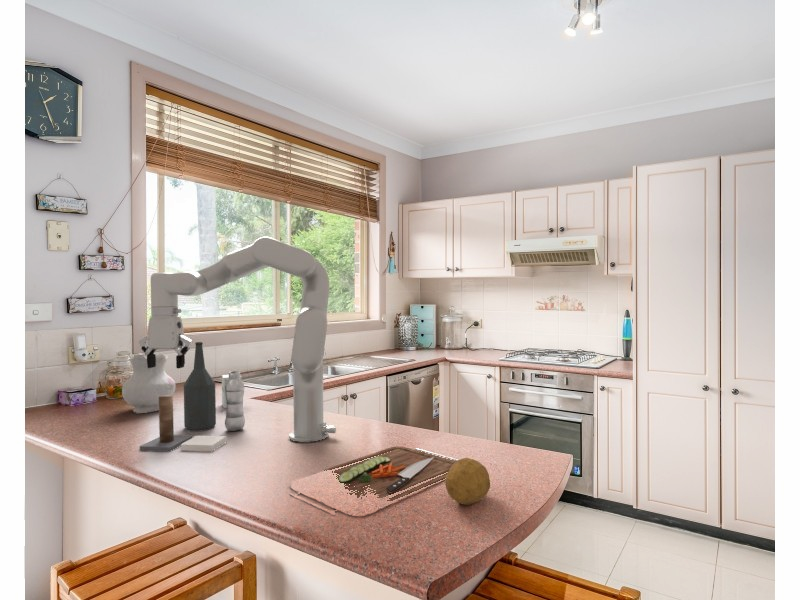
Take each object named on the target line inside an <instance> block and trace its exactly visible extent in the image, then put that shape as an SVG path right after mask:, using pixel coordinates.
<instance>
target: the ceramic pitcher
mask: <svg viewBox="0 0 800 600" xmlns="http://www.w3.org/2000/svg"><path fill="white" fill-rule="evenodd" d="M155 355H156V366H155V367H153V368H148V367H147V355H145V353H144V352H139V353H136V354H133V357H129V361H130V364H131V367H132V370H133V371H132V372H133V373H132V375H130V377H129V378H127V379H126V381H124V382H123V384H122V386H121V394H122V398H123V400H124V402H126V404H128V405H129V406H131V407H134V409H133V410H132V412H133V413H135V412H136V413H145V414H149V413H152V412H157V411H158V412H159V396H162V395H173V396H174V394H175V391H176V381H175V380H174V379H173V377H171V376H170V375H168V373H166V369H165V368H166V367H165V366H166V362H167V360H168V357H169V356H168V355H167V354H166V355H165V354H164V353H163V352H158V353H157V354H155ZM148 412H149V413H148ZM136 413H135V414H136Z"/></svg>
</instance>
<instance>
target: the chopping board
mask: <svg viewBox="0 0 800 600" xmlns="http://www.w3.org/2000/svg"><path fill="white" fill-rule="evenodd" d="M390 451H391V452H390ZM421 451H422V452H421ZM387 452H388V453H387ZM425 452H426V453H425ZM384 453H385V454H384ZM428 453H430V454H428ZM381 454H382V455H381ZM432 454H434V455H432ZM378 455H379V456H378ZM435 455H438V456H435ZM374 456H376V457H374ZM439 456H441V457H439ZM371 457H373V458H371ZM442 457H445V458H442ZM367 458H370V459H367ZM446 458H448V459H446ZM364 459H367V460H364ZM450 459H452V460H450ZM362 460H364V461H362ZM458 460H460V459H459V458H458V459H457V458H455V457H451V456H447V455H443V454H441V453H437V452H433V451H428V450H425V449H421V448H418V447H415V449H413V448H409V447H407V446H391V447H388V448H385V449H381V450H378V451H376V452H373V453H370V454H366V455H364V456H360V457H358V458H354V459H351V460H349V461H346V462H344V463H340V464H337V465H334V466H330V467H328V468H325V469H323V470H324V471H325V470H326V471H327V470H332V469H335V468H339V467H343V466H346V465H349V464H352V463H355V462H358V461H362V462H359V463H356V464H353V465H350V466H347V467H344V468H341V469H338V470H335V471H334V473H337V474H339V475H340V476H339V475H337V474H336V475H337V476H338V477H337V476H336V477H337V478H338V480H339V482H340V483H344V485H345V484H346V485H345V486H348V487H349V488H348V487H345V486H344V487H345V489H348V490H349V491H350V490H353V491H355V490H357V491H355V492H357V493H355V492H353V491H351V492H353V493H355V495H357V498H359V497H360V495H361V494H363V495H362V496H365V495H366V494H367V492H366V493H365V492H364V490H365V491H367V490H366V489H367V488H368V487H369V488H371V489H373V490H370V489H368V490H370V491H368V492H371V491H373V492H371V493H375V492H376V493H375V494H374V495H376V494H379V495H378V496H379V497H377V498H383V497H386V496H388V495H391V494H394V493H396V492H399V491H402V490H405V489H407V488H409V487H411V486H414V485H416V484H418V483H421V482H423V481H426V480H428V479H431V478H434V477H436V476H438V475H441V474H444V473H446V472H449V470H450V468H451V467H452V465H453V464H454V463H455V462H456V461H458ZM332 473H333V471H332ZM333 475H334V474H333ZM446 475H447V473H446V474H444V475H442V476H439V477H437V478H435V479H432V480H430V481H428V482H426V483H423V484H421V485H419V486H417V487H414V488H412V489H410V490H407V491H405V492H403V493H401V494H398V495H396V496H394V497H392V498H389V499H390V500H387V501H393V500H395V499H398V498H400V497H403V496H405V495H408V494H410V493H412V492H414V491H417V490H419V489H421V488H423V487H426V486H428V485H431V484H433V483H436V482H438V481H440V480H443V479H445V478H446ZM337 478H336V479H337ZM349 484H350V485H349ZM368 485H370V486H368ZM354 486H355V487H354ZM365 486H367V487H365ZM363 487H364V488H363ZM374 490H376V491H374ZM358 491H359V492H358ZM361 492H362V493H361ZM353 493H349V494H350V495H352V494H353ZM364 493H365V494H364ZM371 493H370V494H371ZM347 494H348V493H347ZM366 497H367V496H366ZM361 499H362V497H361Z"/></svg>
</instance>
